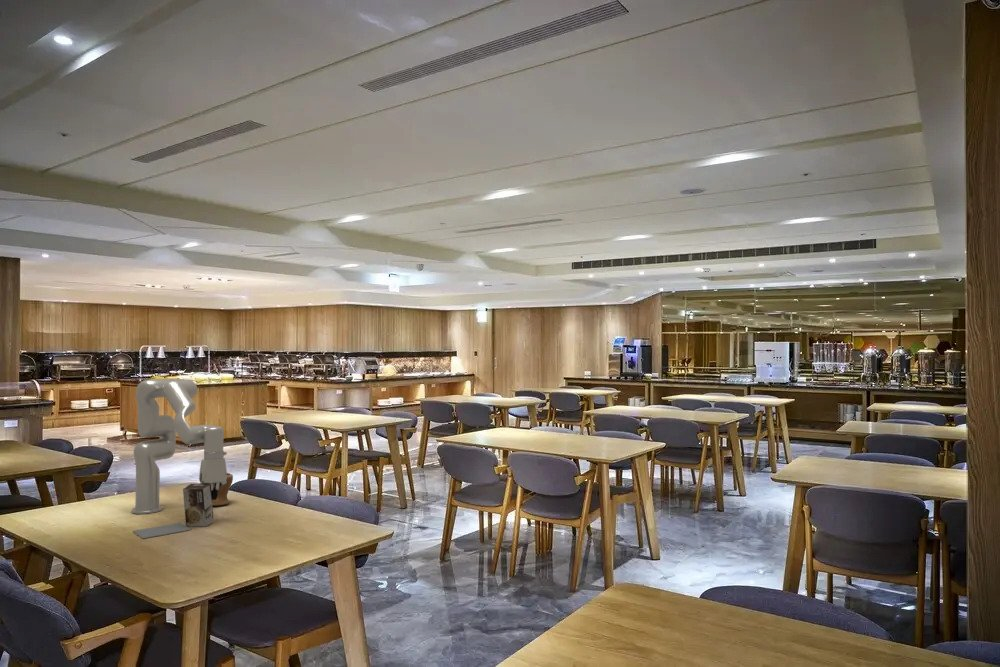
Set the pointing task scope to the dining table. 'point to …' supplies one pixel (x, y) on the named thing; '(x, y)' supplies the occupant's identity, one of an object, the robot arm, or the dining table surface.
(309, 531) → the dining table surface
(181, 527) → the mat
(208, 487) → the coffee box
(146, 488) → the robot arm
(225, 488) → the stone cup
